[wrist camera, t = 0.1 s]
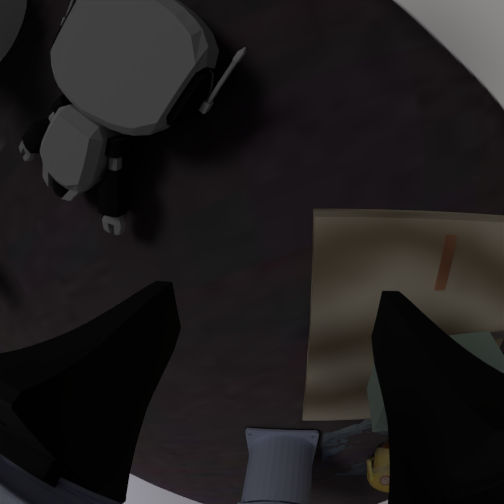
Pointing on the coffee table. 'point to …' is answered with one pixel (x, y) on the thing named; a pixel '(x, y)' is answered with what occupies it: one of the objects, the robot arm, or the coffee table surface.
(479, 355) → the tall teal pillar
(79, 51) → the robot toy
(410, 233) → the base
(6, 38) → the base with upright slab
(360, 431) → the stuffed giraffe
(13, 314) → the coffee table surface
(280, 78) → the coffee table surface
